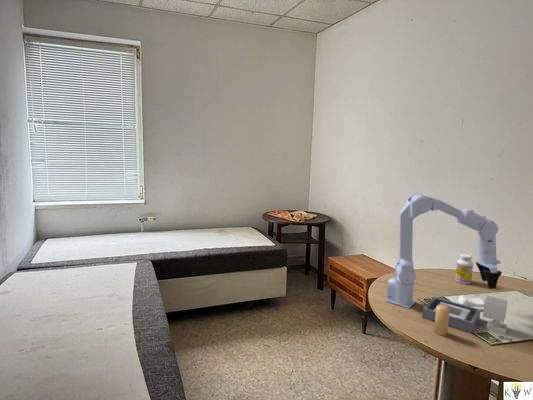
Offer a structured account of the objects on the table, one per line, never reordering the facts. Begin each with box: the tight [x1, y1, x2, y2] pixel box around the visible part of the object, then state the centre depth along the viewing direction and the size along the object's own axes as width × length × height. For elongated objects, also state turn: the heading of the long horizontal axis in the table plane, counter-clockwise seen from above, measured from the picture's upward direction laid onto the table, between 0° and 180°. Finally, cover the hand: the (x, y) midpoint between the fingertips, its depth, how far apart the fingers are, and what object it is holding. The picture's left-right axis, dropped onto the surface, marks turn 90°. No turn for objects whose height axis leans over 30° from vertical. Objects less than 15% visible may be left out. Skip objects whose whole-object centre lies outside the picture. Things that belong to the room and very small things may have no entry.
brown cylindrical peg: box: [433, 305, 450, 337], centre depth 116 cm, size 4×4×9 cm
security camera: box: [482, 295, 508, 334], centre depth 120 cm, size 6×7×10 cm
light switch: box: [449, 294, 485, 312], centre depth 138 cm, size 11×4×13 cm
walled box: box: [422, 296, 482, 334], centre depth 127 cm, size 16×14×4 cm
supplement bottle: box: [454, 253, 474, 285], centre depth 162 cm, size 7×7×13 cm
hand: (488, 284), depth 132 cm, fingers open, 7 cm apart
